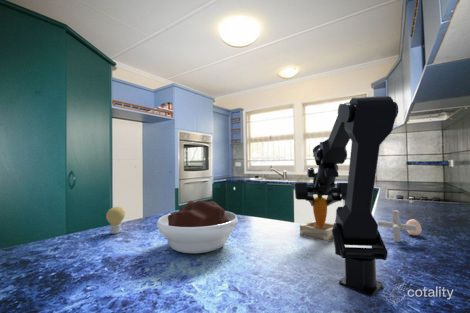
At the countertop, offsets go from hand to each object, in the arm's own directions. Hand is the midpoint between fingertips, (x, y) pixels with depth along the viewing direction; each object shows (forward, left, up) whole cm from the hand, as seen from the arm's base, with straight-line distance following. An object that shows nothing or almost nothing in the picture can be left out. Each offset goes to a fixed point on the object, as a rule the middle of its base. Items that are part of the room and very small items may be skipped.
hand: (318, 205), depth 82 cm
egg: (+24, -23, -11) cm, 35 cm away
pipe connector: (+12, -21, -11) cm, 26 cm away
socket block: (-1, -1, -11) cm, 11 cm away
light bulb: (-58, +53, -11) cm, 79 cm away
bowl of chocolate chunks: (-41, +18, -11) cm, 46 cm away
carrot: (-1, -1, -8) cm, 9 cm away
